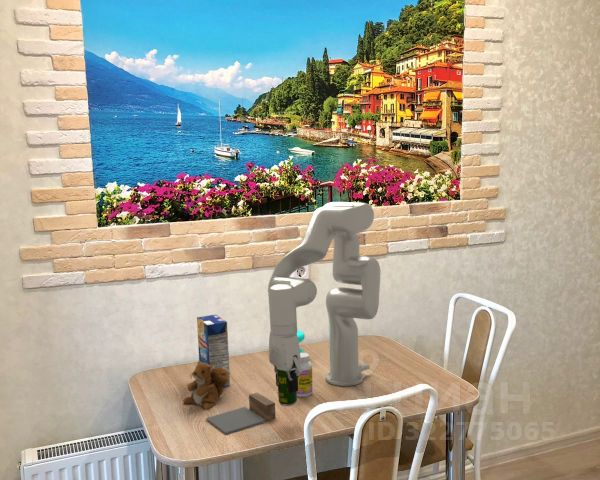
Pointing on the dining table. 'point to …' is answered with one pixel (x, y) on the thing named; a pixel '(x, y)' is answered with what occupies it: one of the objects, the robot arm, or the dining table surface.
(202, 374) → the stuffed squirrel
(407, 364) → the dining table surface
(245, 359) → the dining table surface
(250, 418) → the rubber mat
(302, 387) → the supplement bottle
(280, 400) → the beer can
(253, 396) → the walnut ledge
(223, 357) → the beverage box
